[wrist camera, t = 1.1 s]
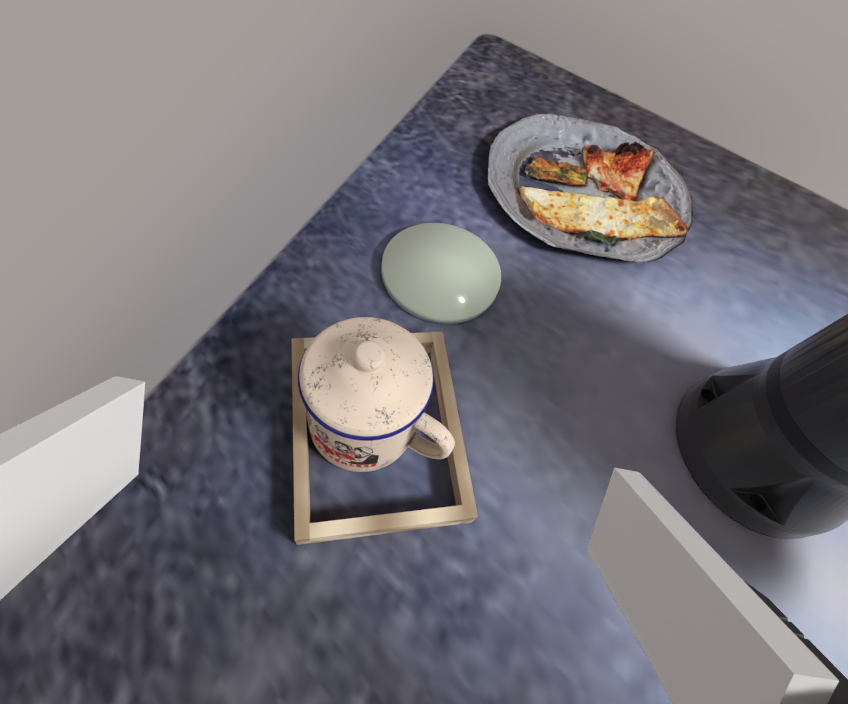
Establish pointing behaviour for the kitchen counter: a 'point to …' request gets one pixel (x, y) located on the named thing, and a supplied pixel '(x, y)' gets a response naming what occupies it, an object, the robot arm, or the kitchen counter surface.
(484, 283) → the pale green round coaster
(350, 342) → the teacup with lid
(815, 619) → the kitchen counter surface
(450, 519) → the wooden frame
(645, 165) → the food plate
